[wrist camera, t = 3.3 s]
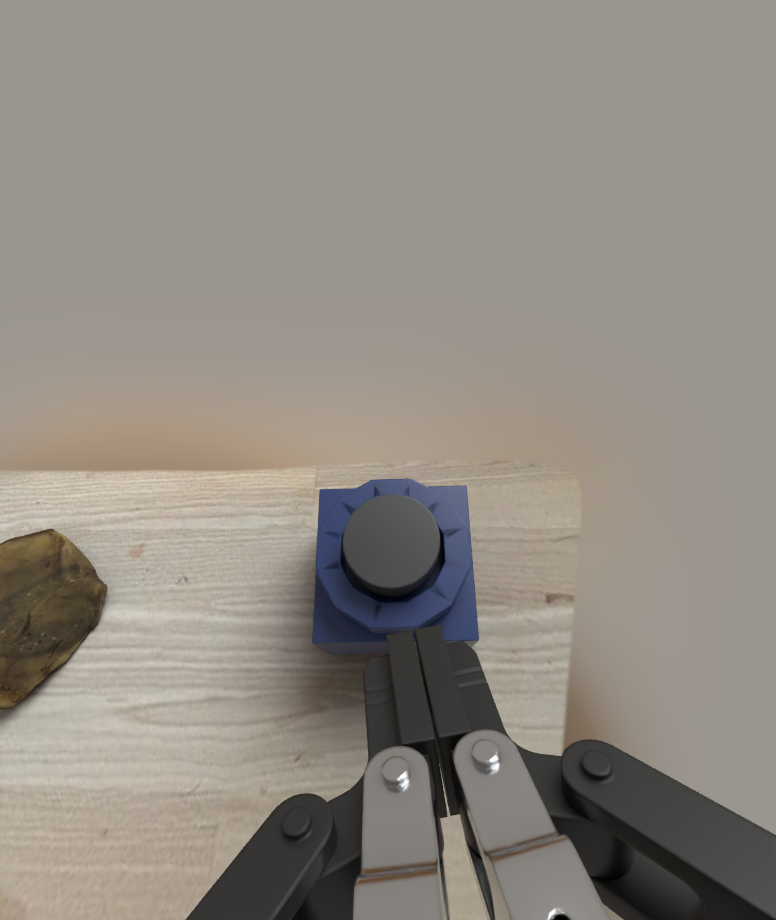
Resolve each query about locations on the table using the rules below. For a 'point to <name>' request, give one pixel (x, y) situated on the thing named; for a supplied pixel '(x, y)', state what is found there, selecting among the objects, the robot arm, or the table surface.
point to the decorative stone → (42, 608)
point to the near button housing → (373, 616)
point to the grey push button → (392, 545)
